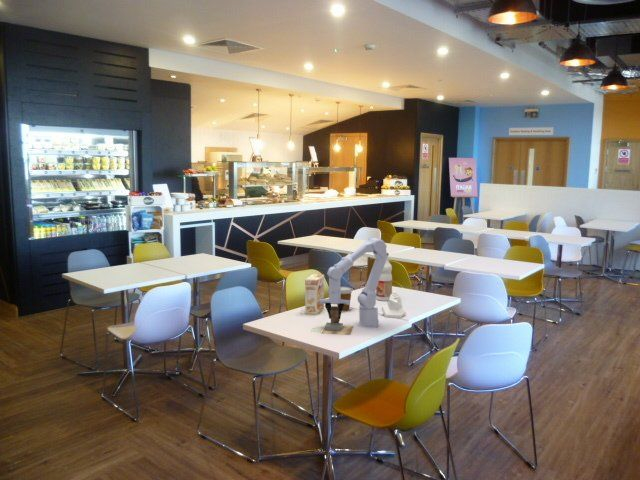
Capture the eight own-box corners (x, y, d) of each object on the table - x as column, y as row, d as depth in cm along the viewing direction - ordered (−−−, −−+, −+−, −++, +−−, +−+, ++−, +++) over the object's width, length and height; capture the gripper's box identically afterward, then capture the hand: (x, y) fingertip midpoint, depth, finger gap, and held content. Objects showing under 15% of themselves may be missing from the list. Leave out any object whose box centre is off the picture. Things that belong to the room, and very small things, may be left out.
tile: (342, 323, 262) (341, 326, 256) (342, 327, 263) (341, 331, 257) (326, 322, 264) (324, 326, 258) (326, 326, 264) (324, 330, 258)
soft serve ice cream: (409, 315, 288) (415, 292, 283) (395, 324, 277) (400, 300, 272) (390, 306, 295) (395, 283, 290) (375, 314, 284) (380, 291, 279)
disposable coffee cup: (354, 310, 293) (354, 289, 292) (339, 312, 290) (339, 291, 288) (347, 306, 302) (347, 285, 300) (332, 308, 299) (332, 287, 297)
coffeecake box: (317, 315, 285) (317, 279, 282) (304, 314, 287) (304, 279, 284) (324, 308, 299) (324, 274, 296) (312, 307, 301) (312, 273, 298)
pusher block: (339, 318, 266) (339, 306, 264) (338, 323, 263) (338, 310, 260) (332, 318, 267) (331, 306, 264) (330, 322, 263) (330, 310, 261)
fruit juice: (392, 301, 313) (392, 254, 309) (376, 301, 314) (376, 254, 310) (391, 297, 322) (392, 251, 318) (375, 297, 323) (376, 251, 319)
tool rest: (322, 329, 260) (322, 328, 260) (320, 332, 256) (320, 332, 255) (312, 329, 261) (312, 328, 261) (310, 332, 256) (310, 331, 256)
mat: (353, 326, 265) (353, 326, 265) (350, 335, 251) (350, 334, 251) (325, 325, 267) (325, 324, 267) (321, 334, 254) (321, 333, 253)
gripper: (350, 289, 263) (350, 316, 265) (321, 288, 266) (321, 315, 268) (348, 293, 257) (348, 320, 258) (319, 292, 259) (319, 319, 261)
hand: (334, 318), depth 263 cm, fingers closed on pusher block, 4 cm apart
